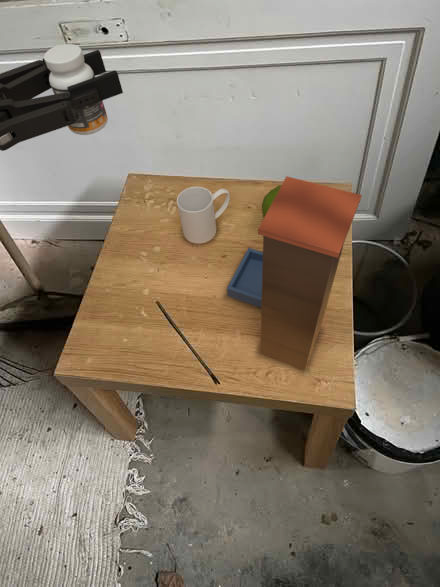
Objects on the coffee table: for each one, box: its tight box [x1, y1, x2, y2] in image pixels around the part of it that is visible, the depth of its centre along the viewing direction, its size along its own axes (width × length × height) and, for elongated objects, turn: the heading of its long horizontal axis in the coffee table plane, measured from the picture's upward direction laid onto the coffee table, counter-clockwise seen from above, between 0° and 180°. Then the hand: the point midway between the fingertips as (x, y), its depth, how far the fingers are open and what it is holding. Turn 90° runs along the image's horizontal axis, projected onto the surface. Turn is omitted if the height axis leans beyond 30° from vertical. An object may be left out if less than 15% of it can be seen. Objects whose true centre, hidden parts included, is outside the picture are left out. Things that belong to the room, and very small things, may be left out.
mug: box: [176, 186, 231, 245], centre depth 95 cm, size 12×8×10 cm, turn 117°
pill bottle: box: [43, 43, 109, 136], centre depth 56 cm, size 6×6×10 cm
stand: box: [257, 176, 363, 371], centre depth 66 cm, size 10×10×36 cm
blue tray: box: [226, 247, 263, 308], centre depth 88 cm, size 12×12×3 cm
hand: (110, 71), depth 56 cm, fingers closed on pill bottle, 6 cm apart
